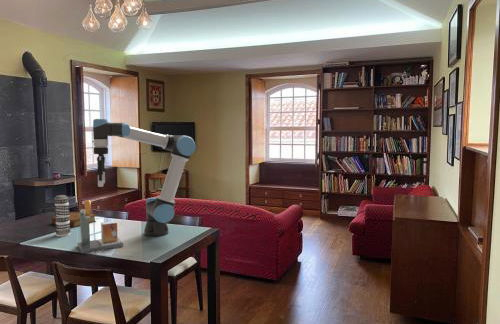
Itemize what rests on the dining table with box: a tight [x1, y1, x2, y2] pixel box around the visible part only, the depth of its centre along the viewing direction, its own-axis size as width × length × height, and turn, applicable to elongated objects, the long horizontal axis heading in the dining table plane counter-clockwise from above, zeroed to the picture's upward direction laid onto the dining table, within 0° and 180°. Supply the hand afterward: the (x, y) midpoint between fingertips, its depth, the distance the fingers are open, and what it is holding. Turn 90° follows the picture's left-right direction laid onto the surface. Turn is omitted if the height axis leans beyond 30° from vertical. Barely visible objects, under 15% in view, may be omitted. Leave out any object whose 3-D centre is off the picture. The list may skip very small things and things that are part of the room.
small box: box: [100, 220, 119, 242], centre depth 224 cm, size 8×6×10 cm
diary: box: [51, 211, 97, 229], centre depth 278 cm, size 23×19×6 cm
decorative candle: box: [53, 194, 72, 237], centre depth 247 cm, size 9×9×25 cm
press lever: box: [79, 199, 92, 218], centre depth 215 cm, size 18×4×10 cm, turn 31°
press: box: [76, 213, 124, 254], centre depth 222 cm, size 22×15×19 cm
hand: (101, 184), depth 218 cm, fingers open, 13 cm apart
